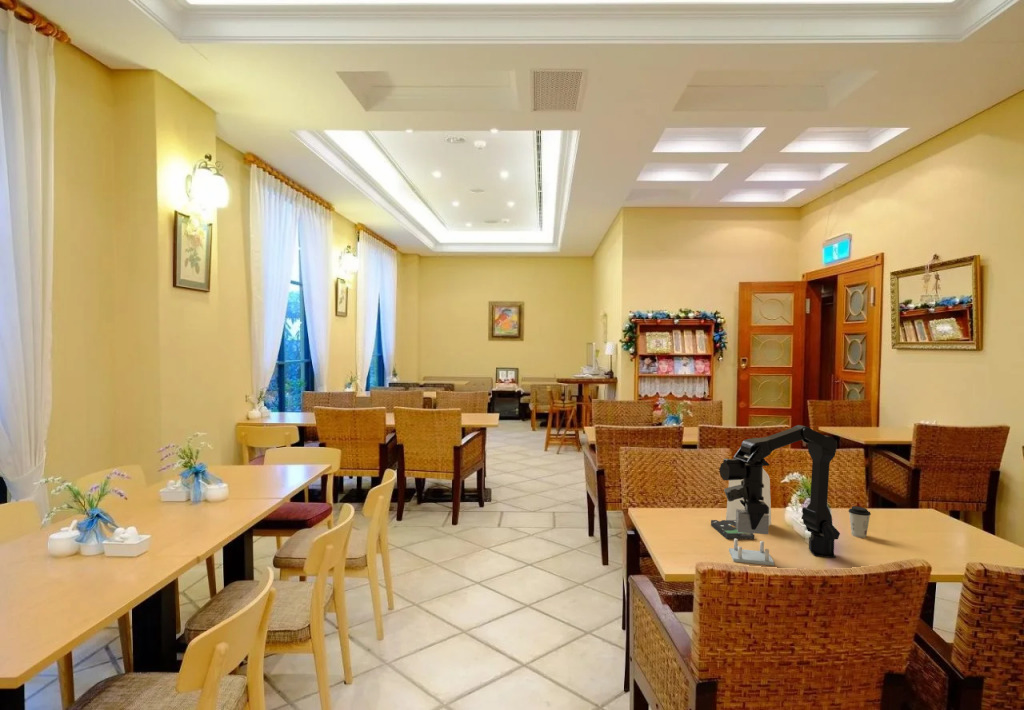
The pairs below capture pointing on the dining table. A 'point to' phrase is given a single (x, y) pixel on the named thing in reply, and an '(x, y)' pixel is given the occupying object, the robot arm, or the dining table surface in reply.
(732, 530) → the disk drive
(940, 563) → the dining table surface
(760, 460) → the robot arm
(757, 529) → the block
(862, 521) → the coffee cup
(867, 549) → the dining table surface
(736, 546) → the tray
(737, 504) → the milk
